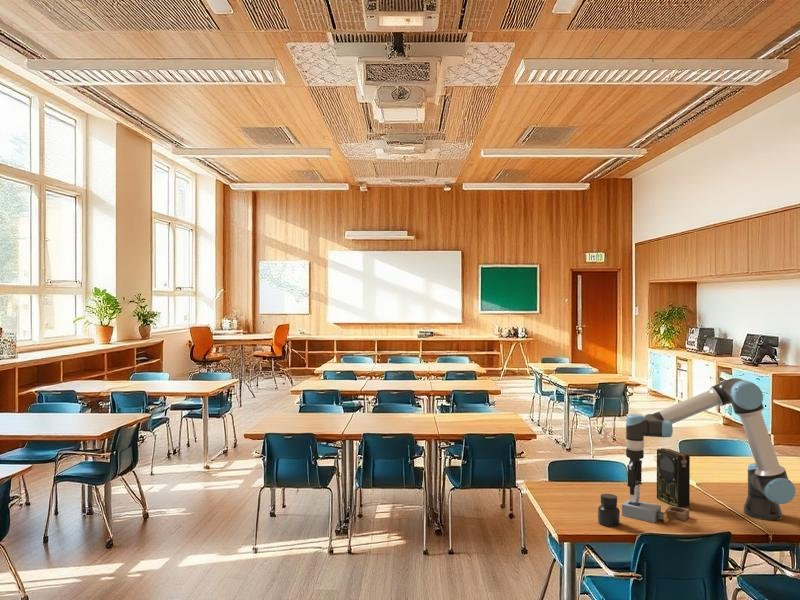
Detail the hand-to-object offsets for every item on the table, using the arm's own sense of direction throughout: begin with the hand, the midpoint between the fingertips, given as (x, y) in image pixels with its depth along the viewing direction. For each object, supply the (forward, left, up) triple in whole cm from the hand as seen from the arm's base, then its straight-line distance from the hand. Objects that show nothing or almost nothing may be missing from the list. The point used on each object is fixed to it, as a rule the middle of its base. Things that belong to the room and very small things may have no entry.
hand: (634, 499), depth 267 cm
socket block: (-3, 0, -7) cm, 7 cm away
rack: (-16, -9, -7) cm, 20 cm away
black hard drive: (-9, -29, -7) cm, 31 cm away
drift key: (-10, 0, -6) cm, 12 cm away
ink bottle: (+5, +19, -7) cm, 21 cm away
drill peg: (0, 0, -7) cm, 7 cm away
